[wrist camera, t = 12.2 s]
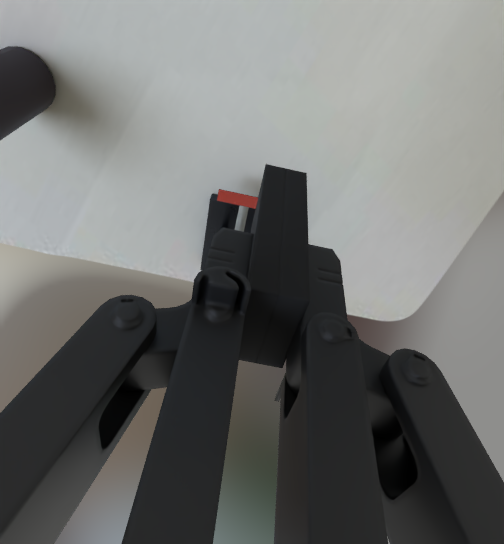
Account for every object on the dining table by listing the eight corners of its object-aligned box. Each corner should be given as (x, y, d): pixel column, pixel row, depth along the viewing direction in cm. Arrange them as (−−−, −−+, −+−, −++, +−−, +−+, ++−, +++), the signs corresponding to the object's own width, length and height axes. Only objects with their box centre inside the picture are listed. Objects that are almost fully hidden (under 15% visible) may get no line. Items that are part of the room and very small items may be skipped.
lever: (219, 190, 47) (218, 188, 45) (272, 201, 48) (274, 200, 45) (199, 294, 49) (197, 298, 47) (250, 304, 49) (250, 308, 47)
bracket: (212, 193, 52) (191, 252, 42) (278, 207, 52) (273, 269, 43) (202, 264, 60) (183, 327, 50) (259, 275, 61) (251, 340, 51)
